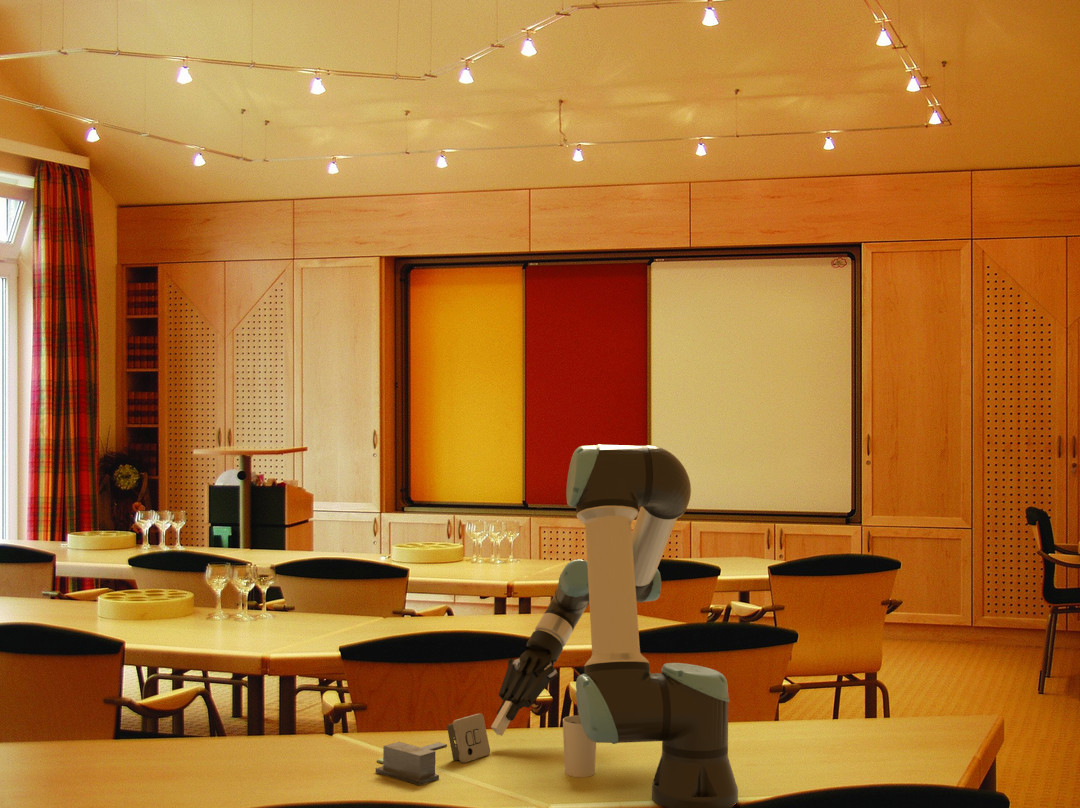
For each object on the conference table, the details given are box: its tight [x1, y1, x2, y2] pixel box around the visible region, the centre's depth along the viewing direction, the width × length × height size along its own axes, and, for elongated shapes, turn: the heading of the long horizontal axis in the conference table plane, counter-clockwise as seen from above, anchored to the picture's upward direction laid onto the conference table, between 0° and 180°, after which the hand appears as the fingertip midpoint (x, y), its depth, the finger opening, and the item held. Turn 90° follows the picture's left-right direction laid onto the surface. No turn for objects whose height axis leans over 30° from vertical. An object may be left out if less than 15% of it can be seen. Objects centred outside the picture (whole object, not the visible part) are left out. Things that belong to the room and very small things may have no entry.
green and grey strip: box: [376, 741, 448, 764], centre depth 218 cm, size 2×17×1 cm, turn 140°
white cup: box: [562, 715, 597, 778], centre depth 207 cm, size 7×7×10 cm
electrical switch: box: [446, 713, 491, 764], centre depth 217 cm, size 8×5×8 cm, turn 141°
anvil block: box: [375, 741, 440, 786], centre depth 204 cm, size 12×5×5 cm, turn 50°
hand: (496, 731), depth 223 cm, fingers closed
